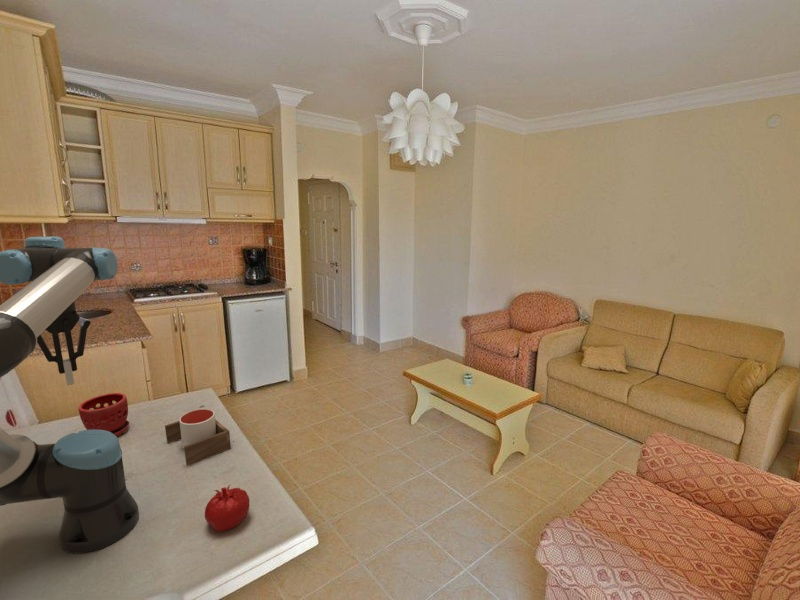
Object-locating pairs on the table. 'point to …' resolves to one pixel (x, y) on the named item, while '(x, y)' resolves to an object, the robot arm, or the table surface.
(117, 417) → the plant pot
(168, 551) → the table surface
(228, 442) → the box
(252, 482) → the table surface
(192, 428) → the cup
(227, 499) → the pomegranate
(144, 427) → the table surface
